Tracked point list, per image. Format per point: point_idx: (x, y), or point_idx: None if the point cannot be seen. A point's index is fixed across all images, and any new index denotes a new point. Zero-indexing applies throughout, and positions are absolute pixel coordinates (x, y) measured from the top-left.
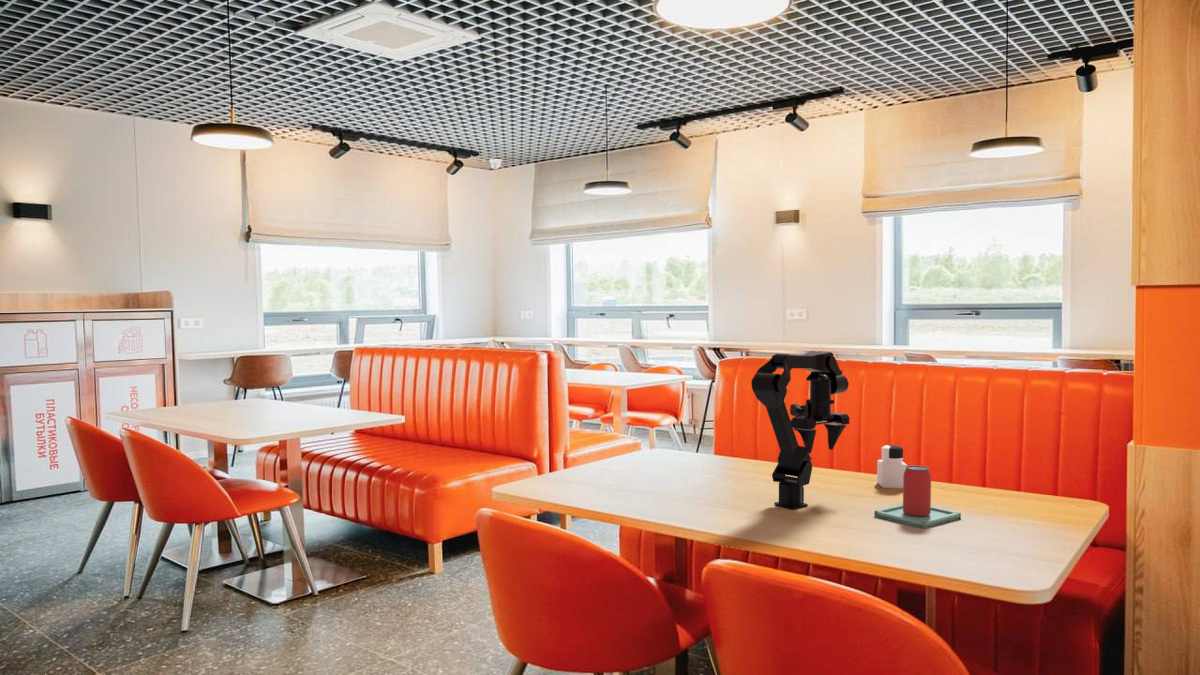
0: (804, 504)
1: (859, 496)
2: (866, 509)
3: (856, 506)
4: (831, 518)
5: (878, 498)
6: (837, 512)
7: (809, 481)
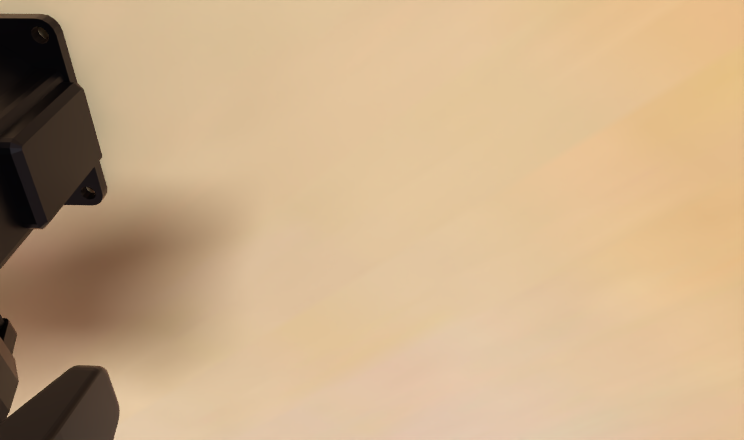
0: (70, 196)
1: (703, 225)
2: (394, 411)
3: (406, 354)
4: None
5: (733, 325)
6: (190, 366)
7: (13, 346)
